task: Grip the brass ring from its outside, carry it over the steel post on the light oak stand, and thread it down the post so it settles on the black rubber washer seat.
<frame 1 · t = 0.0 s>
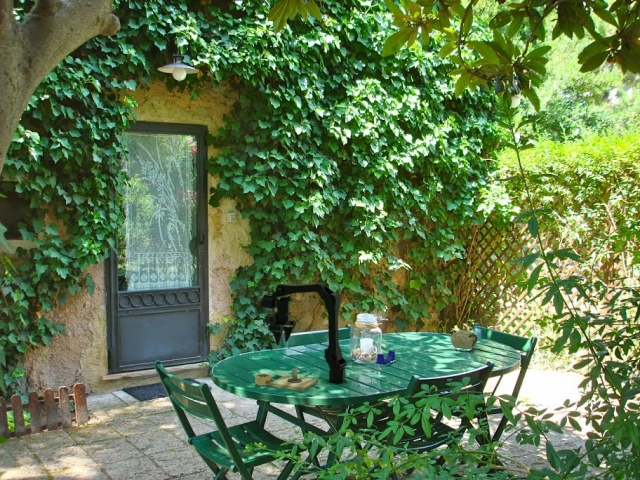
hand: (282, 343, 298), 15 cm above the table, fingers open, 9 cm apart
ring: (263, 383, 281), on the table
stand: (294, 384, 280), on the table
sugar bowl: (463, 350, 364), on the table
cable clip: (387, 364, 325), on the table
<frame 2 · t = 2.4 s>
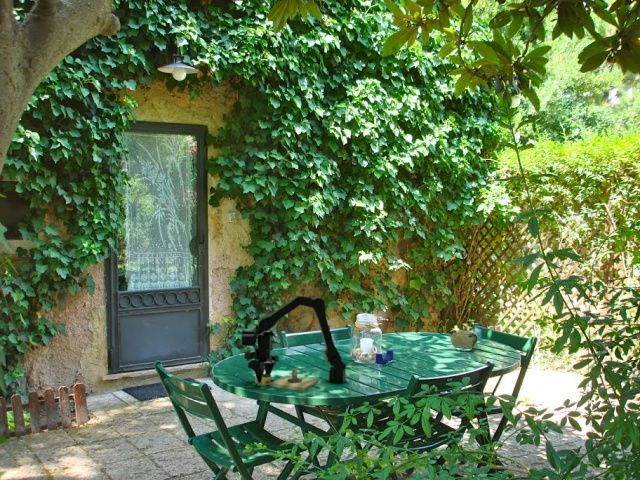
hand: (263, 380, 281), 1 cm above the table, fingers closed on ring, 7 cm apart
ring: (263, 383, 281), on the table, touching gripper
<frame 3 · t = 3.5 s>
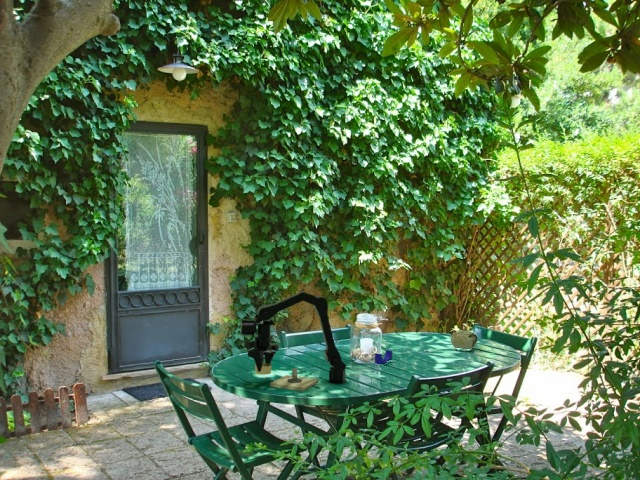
hand: (263, 369, 280), 6 cm above the table, fingers closed on ring, 7 cm apart
ring: (263, 372, 280), point 5 cm above the table, touching gripper
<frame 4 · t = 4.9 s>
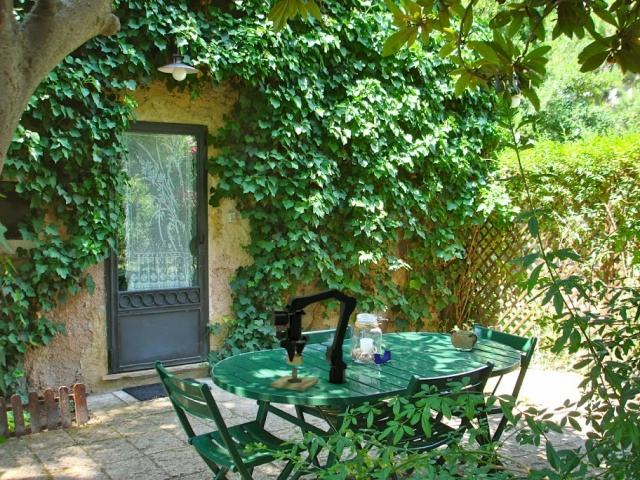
hand: (294, 360, 280), 11 cm above the table, fingers closed on ring, 7 cm apart
ring: (294, 362, 280), point 10 cm above the table, touching gripper
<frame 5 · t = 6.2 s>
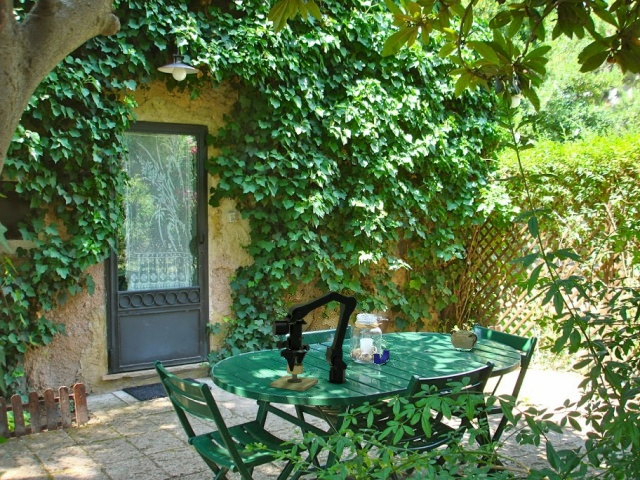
hand: (295, 369, 280), 7 cm above the table, fingers closed on ring, 7 cm apart
ring: (294, 372, 280), point 5 cm above the table, touching gripper
when the fingers open (4 cm above the table, at t = 7.3 s): ring drops 1 cm, resting on stand.
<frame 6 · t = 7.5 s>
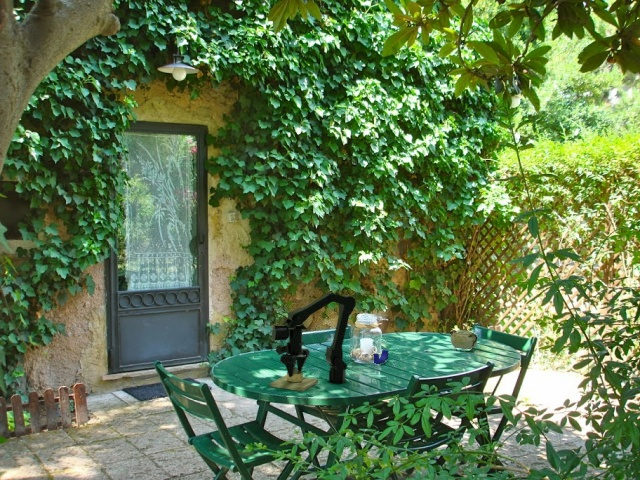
hand: (294, 374, 280), 4 cm above the table, fingers open, 9 cm apart
ring: (294, 380, 280), point 2 cm above the table, touching stand
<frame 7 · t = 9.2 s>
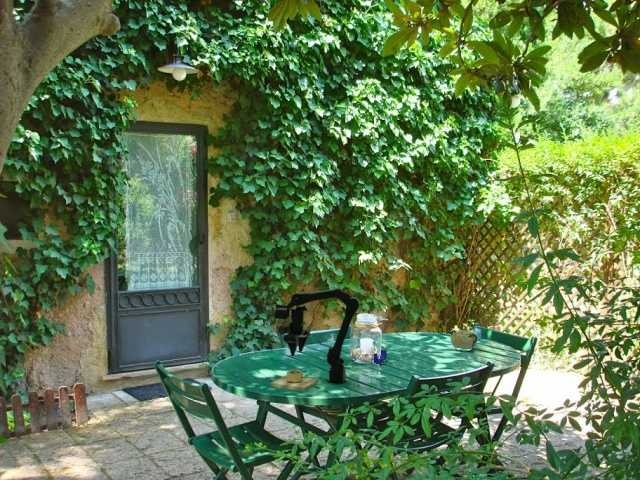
hand: (296, 354, 289), 12 cm above the table, fingers open, 9 cm apart
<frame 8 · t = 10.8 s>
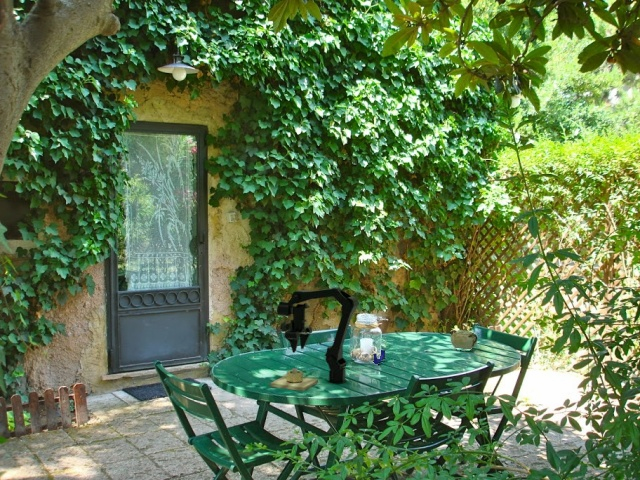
hand: (298, 350, 295), 12 cm above the table, fingers open, 9 cm apart
at the end: ring 0.0 cm from the stand (horizontally); ring 0.0 cm off-centre on the stand, point 2.0 cm above the stand's base; the gripper is holding nothing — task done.
